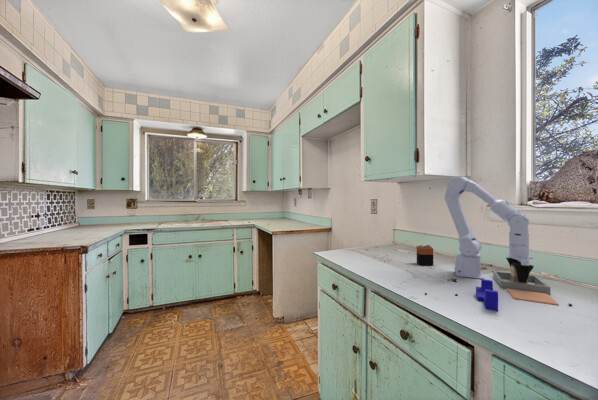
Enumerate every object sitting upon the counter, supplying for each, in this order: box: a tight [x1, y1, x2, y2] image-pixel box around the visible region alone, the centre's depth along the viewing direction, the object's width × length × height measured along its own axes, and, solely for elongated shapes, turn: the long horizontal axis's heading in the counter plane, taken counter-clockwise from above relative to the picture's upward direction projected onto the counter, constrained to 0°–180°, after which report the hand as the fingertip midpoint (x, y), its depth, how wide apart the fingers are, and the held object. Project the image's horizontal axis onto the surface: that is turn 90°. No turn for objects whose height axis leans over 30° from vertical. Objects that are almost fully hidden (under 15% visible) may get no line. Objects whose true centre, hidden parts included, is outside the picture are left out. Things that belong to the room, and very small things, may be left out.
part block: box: [510, 265, 529, 284], centre depth 94 cm, size 4×4×7 cm
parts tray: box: [492, 270, 551, 295], centre depth 94 cm, size 14×14×2 cm
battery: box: [416, 244, 434, 267], centre depth 123 cm, size 4×7×10 cm, turn 83°
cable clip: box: [475, 278, 499, 312], centre depth 80 cm, size 12×4×6 cm, turn 148°
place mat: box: [505, 288, 560, 306], centre depth 83 cm, size 11×9×1 cm
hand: (519, 279), depth 94 cm, fingers open, 7 cm apart
